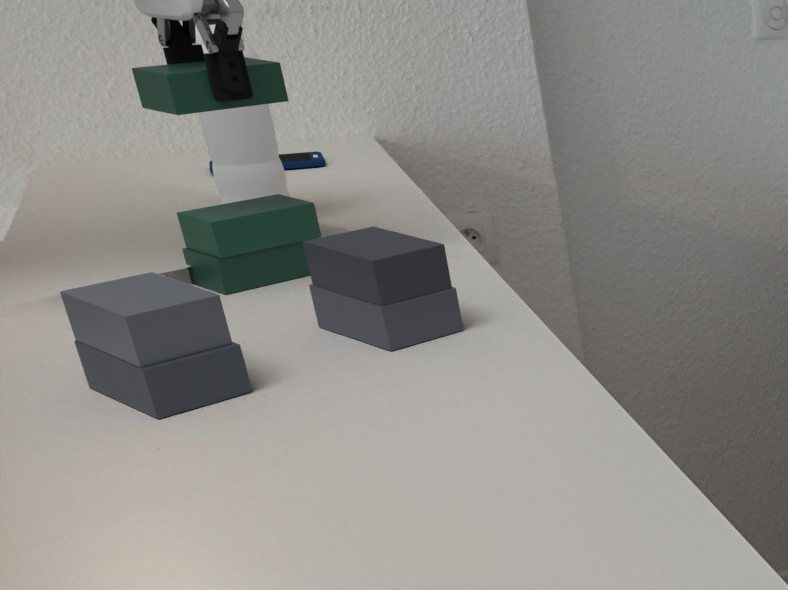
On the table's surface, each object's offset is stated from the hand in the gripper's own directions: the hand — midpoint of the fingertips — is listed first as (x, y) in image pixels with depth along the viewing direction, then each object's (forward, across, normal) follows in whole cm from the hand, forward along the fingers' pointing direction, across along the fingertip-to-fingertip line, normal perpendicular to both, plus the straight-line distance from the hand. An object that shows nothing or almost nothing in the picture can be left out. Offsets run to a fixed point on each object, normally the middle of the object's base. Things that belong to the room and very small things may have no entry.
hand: (213, 94), depth 115 cm
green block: (+1, 0, 0) cm, 1 cm away
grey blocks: (+17, +23, -10) cm, 30 cm away
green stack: (+17, -2, +1) cm, 18 cm away
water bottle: (+18, -22, +12) cm, 31 cm away
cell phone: (+18, -55, +30) cm, 65 cm away
